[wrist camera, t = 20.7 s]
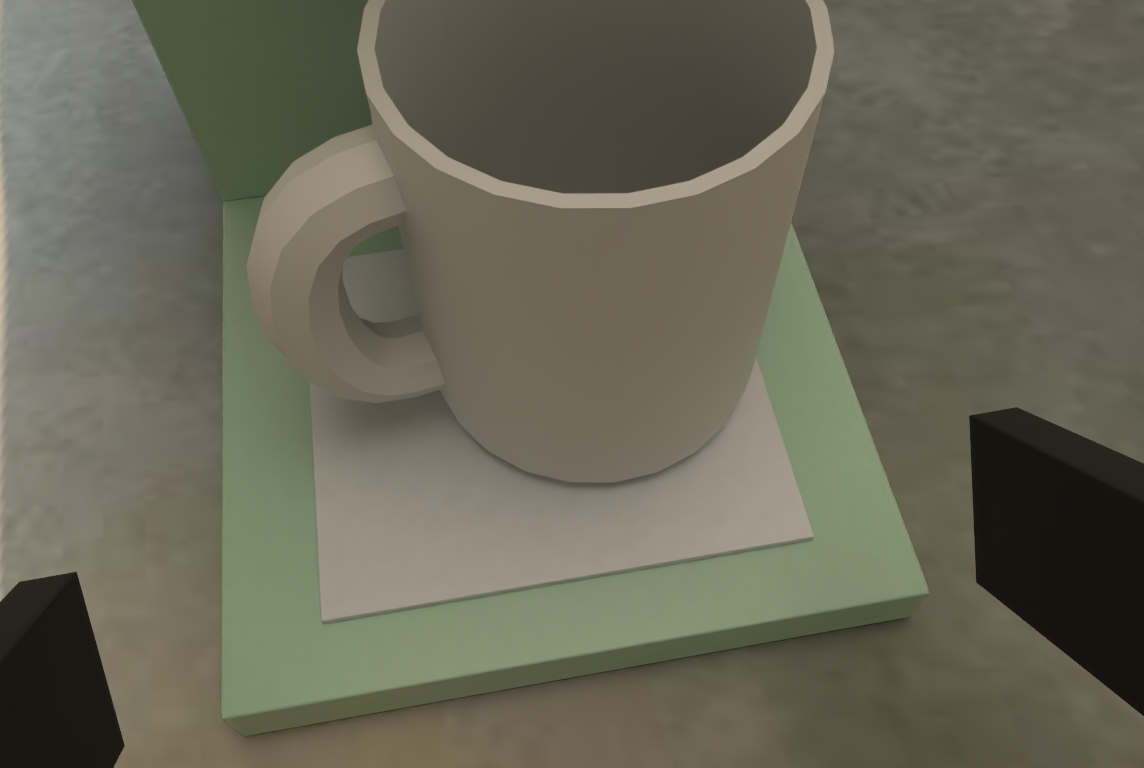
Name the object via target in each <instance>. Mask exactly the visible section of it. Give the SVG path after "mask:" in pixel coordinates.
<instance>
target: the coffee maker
mask: <svg viewBox="0 0 1144 768" xmlns="http://www.w3.org/2000/svg"><path fill="white" fill-rule="evenodd" d="M132 1H133V4H134V6H135V8H136V10H137V12H138V15H139V17H140V19H141V21H142V24H143V26H144V28H145V30H146V32H147V35H148V37H149V39H150V41H151V44H152V46H153V48H154V50H155V52H156V55H157V57H158V59H159V61H160V63H161V66H162V68H163V70H164V72H165V75H166V77H167V79H168V81H169V83H170V86H171V88H172V90H173V92H174V95H175V97H176V99H177V101H178V103H179V106H180V108H181V110H182V112H183V114H184V117H185V119H186V121H187V123H188V126H189V128H190V130H191V132H192V134H193V137H194V139H195V141H196V143H197V146H198V148H199V150H200V152H201V154H202V157H203V159H204V161H205V163H206V165H207V168H208V170H209V172H210V174H211V177H212V179H213V181H214V183H215V185H216V188H217V190H218V192H219V194H220V197H221V199H222V200H223V368H222V633H221V718H222V720H224V721H225V722H226V723H227V724H229V725H230V726H231V727H233V728H234V729H235V730H236V731H238V732H239V733H240V734H242V735H243V736H249V735H255V734H260V733H266V732H271V731H277V730H283V729H288V728H294V727H299V726H305V725H310V724H316V723H321V722H327V721H333V720H338V719H344V718H349V717H355V716H360V715H366V714H372V713H377V712H383V711H388V710H394V709H399V708H405V707H411V706H416V705H422V704H427V703H433V702H438V701H444V700H449V699H455V698H461V697H466V696H472V695H477V694H483V693H488V692H494V691H500V690H505V689H511V688H516V687H522V686H527V685H533V684H538V683H544V682H550V681H555V680H561V679H566V678H572V677H577V676H583V675H589V674H594V673H600V672H605V671H611V670H616V669H622V668H628V667H633V666H639V665H644V664H650V663H655V662H661V661H666V660H672V659H678V658H683V657H689V656H694V655H700V654H705V653H711V652H717V651H722V650H728V649H733V648H739V647H744V646H750V645H756V644H761V643H767V642H772V641H778V640H783V639H789V638H794V637H800V636H806V635H811V634H817V633H822V632H828V631H833V630H839V629H845V628H850V627H856V626H861V625H867V624H872V623H878V622H884V621H889V620H895V619H900V618H906V617H909V616H911V615H912V613H913V612H914V611H915V610H916V609H917V608H918V606H919V605H920V604H921V603H922V602H923V600H924V599H925V598H926V597H927V596H928V595H929V592H930V591H929V588H928V586H927V583H926V580H925V578H924V575H923V572H922V570H921V567H920V564H919V562H918V559H917V556H916V554H915V551H914V548H913V546H912V543H911V540H910V538H909V535H908V532H907V530H906V527H905V524H904V522H903V519H902V516H901V514H900V511H899V508H898V506H897V503H896V500H895V498H894V495H893V492H892V490H891V487H890V484H889V482H888V479H887V476H886V474H885V471H884V468H883V466H882V463H881V460H880V458H879V455H878V452H877V450H876V447H875V444H874V442H873V439H872V436H871V434H870V431H869V428H868V426H867V423H866V420H865V418H864V415H863V412H862V410H861V407H860V404H859V402H858V399H857V396H856V394H855V391H854V388H853V386H852V383H851V380H850V378H849V375H848V372H847V370H846V367H845V364H844V362H843V359H842V356H841V354H840V351H839V348H838V346H837V343H836V340H835V338H834V335H833V332H832V330H831V327H830V324H829V322H828V319H827V316H826V314H825V311H824V308H823V306H822V303H821V300H820V298H819V295H818V292H817V290H816V287H815V284H814V282H813V279H812V276H811V274H810V271H809V268H808V266H807V263H806V260H805V258H804V255H803V252H802V250H801V247H800V244H799V242H798V239H797V236H796V234H795V231H794V228H793V226H792V223H791V224H790V228H789V232H788V236H787V239H786V243H785V247H784V251H783V255H782V258H781V262H780V266H779V270H778V273H777V277H776V281H775V285H774V289H773V292H772V296H771V300H770V304H769V308H768V311H767V315H766V319H765V323H764V327H763V330H762V334H761V338H760V342H759V345H758V349H757V353H756V357H755V361H754V364H753V368H752V372H751V376H750V378H749V381H748V383H747V386H746V388H745V391H744V393H743V395H742V396H741V398H740V400H739V402H738V403H737V405H736V407H735V408H734V410H733V412H732V414H731V415H730V417H729V419H728V420H727V422H726V424H725V425H724V426H723V427H722V428H721V429H720V430H719V431H718V432H717V433H716V434H715V435H714V436H713V437H711V438H710V439H709V440H708V441H707V442H706V443H705V444H704V445H703V446H702V447H701V448H700V449H699V450H697V451H696V452H695V453H693V454H691V455H690V456H688V457H686V458H684V459H682V460H680V461H678V462H676V463H674V464H672V465H671V466H669V467H667V468H665V469H663V470H661V471H659V472H657V473H653V474H648V475H644V476H640V477H636V478H632V479H627V480H623V481H619V482H615V483H585V482H565V481H561V480H557V479H553V478H549V477H545V476H541V475H537V474H533V473H529V472H526V471H524V470H522V469H520V468H518V467H516V466H514V465H513V464H511V463H509V462H507V461H505V460H503V459H501V458H499V457H498V456H496V455H494V454H492V453H490V452H488V451H487V450H486V449H485V448H484V447H483V446H482V445H481V444H480V443H479V442H478V441H477V440H476V439H475V438H474V437H472V436H471V435H470V434H469V433H468V432H467V431H466V430H465V429H464V428H463V427H462V426H461V425H460V424H459V423H458V421H457V419H456V417H455V416H454V414H453V412H452V411H451V409H450V407H449V405H448V404H447V402H446V400H445V399H444V397H443V395H442V393H441V392H440V390H437V391H434V392H431V393H427V394H424V395H421V396H418V397H414V398H409V399H402V400H395V401H388V402H381V403H373V402H365V401H357V400H349V399H341V398H339V397H337V396H335V395H333V394H331V393H329V392H327V391H325V390H323V389H321V388H319V387H317V386H315V385H313V384H311V383H310V382H309V381H308V380H307V379H306V378H305V377H304V376H303V375H302V374H301V373H300V372H299V371H298V370H297V369H296V368H295V367H294V366H293V365H292V364H291V363H290V362H289V361H288V360H287V359H286V358H285V357H284V356H283V355H282V354H281V353H280V352H279V350H278V349H277V348H276V347H275V346H274V345H273V344H272V343H271V342H270V341H269V340H268V339H267V337H266V335H265V332H264V330H263V328H262V326H261V324H260V322H259V320H258V318H257V316H256V314H255V312H254V309H253V307H252V305H251V298H250V290H249V283H248V275H247V267H246V265H247V261H248V257H249V253H250V249H251V245H252V242H253V238H254V234H255V230H256V226H257V222H258V218H259V215H260V211H261V207H262V203H263V200H264V198H265V196H266V195H267V194H268V193H269V191H270V190H271V189H272V188H273V186H274V185H275V184H276V183H277V181H278V180H279V179H280V178H281V176H282V175H283V174H284V173H285V171H286V170H287V169H288V168H289V166H290V165H291V164H292V163H293V161H295V160H297V159H298V158H300V157H302V156H303V155H305V154H307V153H309V152H310V151H312V150H314V149H315V148H317V147H319V146H320V145H322V144H324V143H325V142H327V141H329V140H330V139H332V138H334V137H336V136H339V135H342V134H345V133H348V132H351V131H354V130H357V129H360V128H363V127H366V126H369V125H372V118H371V111H370V107H369V103H368V99H367V95H366V90H365V86H364V81H363V76H362V72H361V67H360V62H359V57H358V53H357V47H358V41H359V35H360V29H361V24H362V18H363V12H364V8H365V6H366V4H367V3H368V1H369V0H132ZM342 270H343V283H344V286H345V289H346V292H347V295H348V298H349V301H350V304H351V306H352V308H353V309H354V311H355V312H356V314H357V315H358V317H360V318H362V319H365V320H368V321H371V322H374V323H378V322H392V321H396V320H400V319H403V318H407V317H410V316H413V315H417V314H418V306H417V302H416V298H415V294H414V289H413V285H412V281H411V277H410V273H409V269H408V265H407V261H406V256H405V252H404V248H403V244H402V240H401V236H400V231H399V227H398V226H396V227H393V228H390V229H388V230H385V231H382V232H379V233H376V234H373V235H372V236H370V237H369V238H367V239H365V240H364V241H362V242H361V243H359V244H358V245H356V246H355V247H354V248H353V249H352V251H351V252H350V254H349V255H348V257H347V258H346V260H345V261H344V263H343V267H342Z"/></svg>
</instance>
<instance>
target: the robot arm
mask: <svg viewBox="0 0 1144 768" xmlns="http://www.w3.org/2000/svg"><path fill="white" fill-rule="evenodd" d="M969 417H970V441H971V465H972V489H973V512H974V536H975V560H976V582H977V583H978V584H979V585H981V586H982V587H983V588H984V589H986V590H987V591H988V592H989V593H991V594H992V595H993V596H994V597H996V598H997V599H998V600H999V601H1001V602H1002V603H1003V604H1004V605H1006V606H1007V607H1008V608H1009V609H1011V610H1012V611H1013V612H1014V613H1016V614H1017V615H1018V616H1019V617H1021V618H1022V619H1023V620H1024V621H1026V622H1027V623H1028V624H1029V625H1031V626H1032V627H1033V628H1034V629H1036V630H1037V631H1038V632H1039V633H1041V634H1042V635H1043V636H1044V637H1046V638H1047V639H1048V640H1049V641H1051V642H1052V643H1053V644H1054V645H1056V646H1057V647H1058V648H1059V649H1061V650H1062V651H1063V652H1064V653H1066V654H1067V655H1068V656H1069V657H1071V658H1072V659H1073V660H1074V661H1076V662H1077V663H1078V664H1079V665H1081V666H1082V667H1083V668H1084V669H1086V670H1087V671H1088V672H1089V673H1091V674H1092V675H1093V676H1094V677H1096V678H1097V679H1098V680H1099V681H1101V682H1102V683H1103V684H1104V685H1106V686H1107V687H1108V688H1109V689H1111V690H1112V691H1113V692H1114V693H1116V694H1117V695H1118V696H1119V697H1121V698H1122V699H1123V700H1124V701H1126V702H1127V703H1128V704H1129V705H1131V706H1132V707H1133V708H1134V709H1136V710H1137V711H1138V712H1139V713H1141V714H1142V715H1143V716H1144V464H1143V463H1141V462H1139V461H1136V460H1134V459H1132V458H1130V457H1127V456H1125V455H1123V454H1121V453H1118V452H1116V451H1114V450H1112V449H1109V448H1107V447H1105V446H1103V445H1100V444H1098V443H1096V442H1094V441H1091V440H1089V439H1087V438H1085V437H1082V436H1080V435H1078V434H1076V433H1073V432H1071V431H1069V430H1067V429H1064V428H1062V427H1060V426H1058V425H1055V424H1053V423H1051V422H1049V421H1046V420H1044V419H1042V418H1040V417H1037V416H1035V415H1033V414H1031V413H1028V412H1026V411H1024V410H1022V409H1019V408H1011V409H1005V410H1000V411H994V412H988V413H982V414H977V415H971V416H969ZM123 748H124V742H123V739H122V735H121V731H120V728H119V724H118V720H117V717H116V713H115V710H114V706H113V702H112V699H111V695H110V691H109V688H108V684H107V681H106V677H105V673H104V670H103V666H102V662H101V659H100V655H99V652H98V648H97V644H96V641H95V637H94V633H93V630H92V626H91V623H90V619H89V615H88V612H87V608H86V604H85V601H84V597H83V594H82V590H81V586H80V583H79V579H78V575H77V572H73V573H68V574H62V575H56V576H51V577H45V578H39V579H33V580H28V581H22V582H19V583H18V584H17V585H16V586H15V587H14V588H13V589H12V590H11V591H10V592H9V593H8V594H7V596H6V597H5V598H4V599H3V600H2V601H1V602H0V768H113V767H114V765H115V763H116V761H117V759H118V757H119V755H120V753H121V752H122V750H123Z"/></svg>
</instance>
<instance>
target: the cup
mask: <svg viewBox="0 0 1144 768" xmlns="http://www.w3.org/2000/svg"><path fill="white" fill-rule="evenodd" d="M834 50H835V48H834V43H833V37H832V32H831V27H830V21H829V16H828V10H827V7H826V5H825V3H824V1H823V0H369V1H368V3H367V4H366V6H365V8H364V12H363V18H362V24H361V29H360V35H359V41H358V47H357V53H358V57H359V62H360V67H361V72H362V76H363V81H364V86H365V90H366V95H367V99H368V103H369V107H370V111H371V118H372V125H369V126H366V127H363V128H360V129H357V130H354V131H351V132H348V133H345V134H342V135H339V136H336V137H334V138H332V139H330V140H329V141H327V142H325V143H324V144H322V145H320V146H319V147H317V148H315V149H314V150H312V151H310V152H309V153H307V154H305V155H303V156H302V157H300V158H298V159H297V160H295V161H293V163H292V164H291V165H290V166H289V168H288V169H287V170H286V171H285V173H284V174H283V175H282V176H281V178H280V179H279V180H278V181H277V183H276V184H275V185H274V186H273V188H272V189H271V190H270V191H269V193H268V194H267V195H266V196H265V198H264V200H263V203H262V207H261V211H260V215H259V218H258V222H257V226H256V230H255V234H254V238H253V242H252V245H251V249H250V253H249V257H248V261H247V265H246V267H247V275H248V283H249V290H250V298H251V305H252V307H253V309H254V312H255V314H256V316H257V318H258V320H259V322H260V324H261V326H262V328H263V330H264V332H265V335H266V337H267V339H268V340H269V341H270V342H271V343H272V344H273V345H274V346H275V347H276V348H277V349H278V350H279V352H280V353H281V354H282V355H283V356H284V357H285V358H286V359H287V360H288V361H289V362H290V363H291V364H292V365H293V366H294V367H295V368H296V369H297V370H298V371H299V372H300V373H301V374H302V375H303V376H304V377H305V378H306V379H307V380H308V381H309V382H310V383H311V384H313V385H315V386H317V387H319V388H321V389H323V390H325V391H327V392H329V393H331V394H333V395H335V396H337V397H339V398H341V399H349V400H357V401H365V402H373V403H381V402H388V401H395V400H402V399H409V398H414V397H418V396H421V395H424V394H427V393H431V392H434V391H437V390H440V392H441V393H442V395H443V397H444V399H445V400H446V402H447V404H448V405H449V407H450V409H451V411H452V412H453V414H454V416H455V417H456V419H457V421H458V423H459V424H460V425H461V426H462V427H463V428H464V429H465V430H466V431H467V432H468V433H469V434H470V435H471V436H472V437H474V438H475V439H476V440H477V441H478V442H479V443H480V444H481V445H482V446H483V447H484V448H485V449H486V450H487V451H488V452H490V453H492V454H494V455H496V456H498V457H499V458H501V459H503V460H505V461H507V462H509V463H511V464H513V465H514V466H516V467H518V468H520V469H522V470H524V471H526V472H529V473H533V474H537V475H541V476H545V477H549V478H553V479H557V480H561V481H565V482H585V483H615V482H619V481H623V480H627V479H632V478H636V477H640V476H644V475H648V474H653V473H657V472H659V471H661V470H663V469H665V468H667V467H669V466H671V465H672V464H674V463H676V462H678V461H680V460H682V459H684V458H686V457H688V456H690V455H691V454H693V453H695V452H696V451H697V450H699V449H700V448H701V447H702V446H703V445H704V444H705V443H706V442H707V441H708V440H709V439H710V438H711V437H713V436H714V435H715V434H716V433H717V432H718V431H719V430H720V429H721V428H722V427H723V426H724V425H725V424H726V422H727V420H728V419H729V417H730V415H731V414H732V412H733V410H734V408H735V407H736V405H737V403H738V402H739V400H740V398H741V396H742V395H743V393H744V391H745V388H746V386H747V383H748V381H749V378H750V376H751V372H752V368H753V364H754V361H755V357H756V353H757V349H758V345H759V342H760V338H761V334H762V330H763V327H764V323H765V319H766V315H767V311H768V308H769V304H770V300H771V296H772V292H773V289H774V285H775V281H776V277H777V273H778V270H779V266H780V262H781V258H782V255H783V251H784V247H785V243H786V239H787V236H788V232H789V228H790V224H791V220H792V217H793V213H794V209H795V205H796V202H797V198H798V194H799V190H800V186H801V183H802V179H803V175H804V171H805V167H806V164H807V160H808V156H809V152H810V149H811V145H812V141H813V137H814V133H815V130H816V126H817V122H818V118H819V114H820V111H821V107H822V103H823V99H824V95H825V92H826V87H827V82H828V78H829V73H830V68H831V64H832V59H833V54H834ZM396 226H398V227H399V231H400V236H401V240H402V244H403V248H404V252H405V256H406V261H407V265H408V269H409V273H410V277H411V281H412V285H413V289H414V294H415V298H416V302H417V306H418V314H417V315H413V316H410V317H407V318H403V319H400V320H396V321H392V322H378V323H374V322H371V321H368V320H365V319H362V318H360V317H358V315H357V314H356V312H355V311H354V309H353V308H352V306H351V304H350V301H349V298H348V295H347V292H346V289H345V286H344V283H343V270H342V267H343V263H344V261H345V260H346V258H347V257H348V255H349V254H350V252H351V251H352V249H353V248H354V247H355V246H356V245H358V244H359V243H361V242H362V241H364V240H365V239H367V238H369V237H370V236H372V235H373V234H376V233H379V232H382V231H385V230H388V229H390V228H393V227H396Z"/></svg>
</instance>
